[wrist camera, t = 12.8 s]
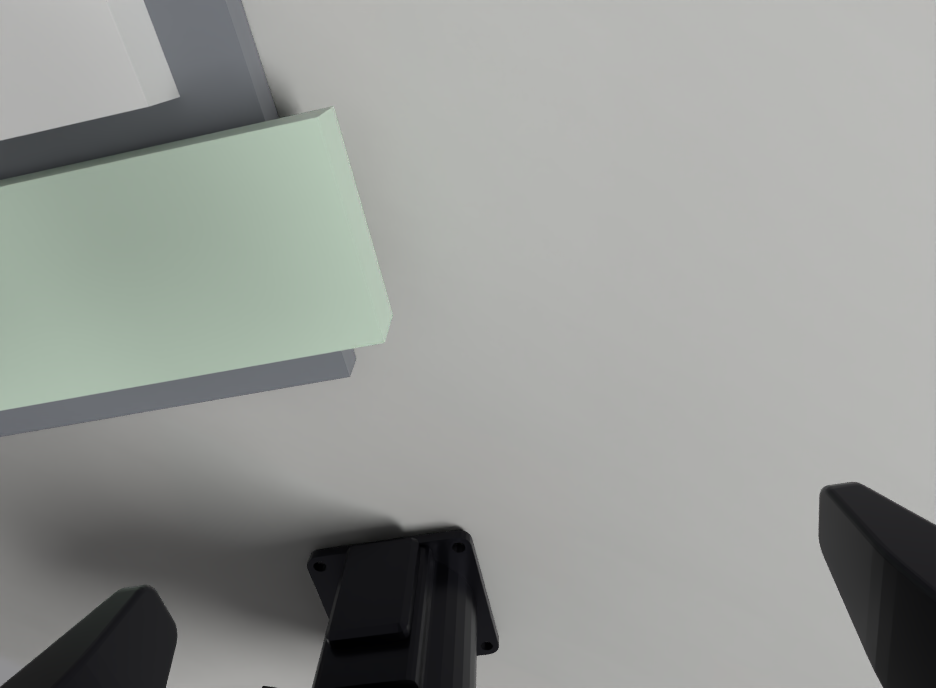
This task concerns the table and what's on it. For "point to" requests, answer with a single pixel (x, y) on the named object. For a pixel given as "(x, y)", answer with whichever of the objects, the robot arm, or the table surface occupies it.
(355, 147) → the table surface
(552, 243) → the table surface
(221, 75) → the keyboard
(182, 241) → the green key
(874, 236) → the table surface
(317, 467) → the table surface
